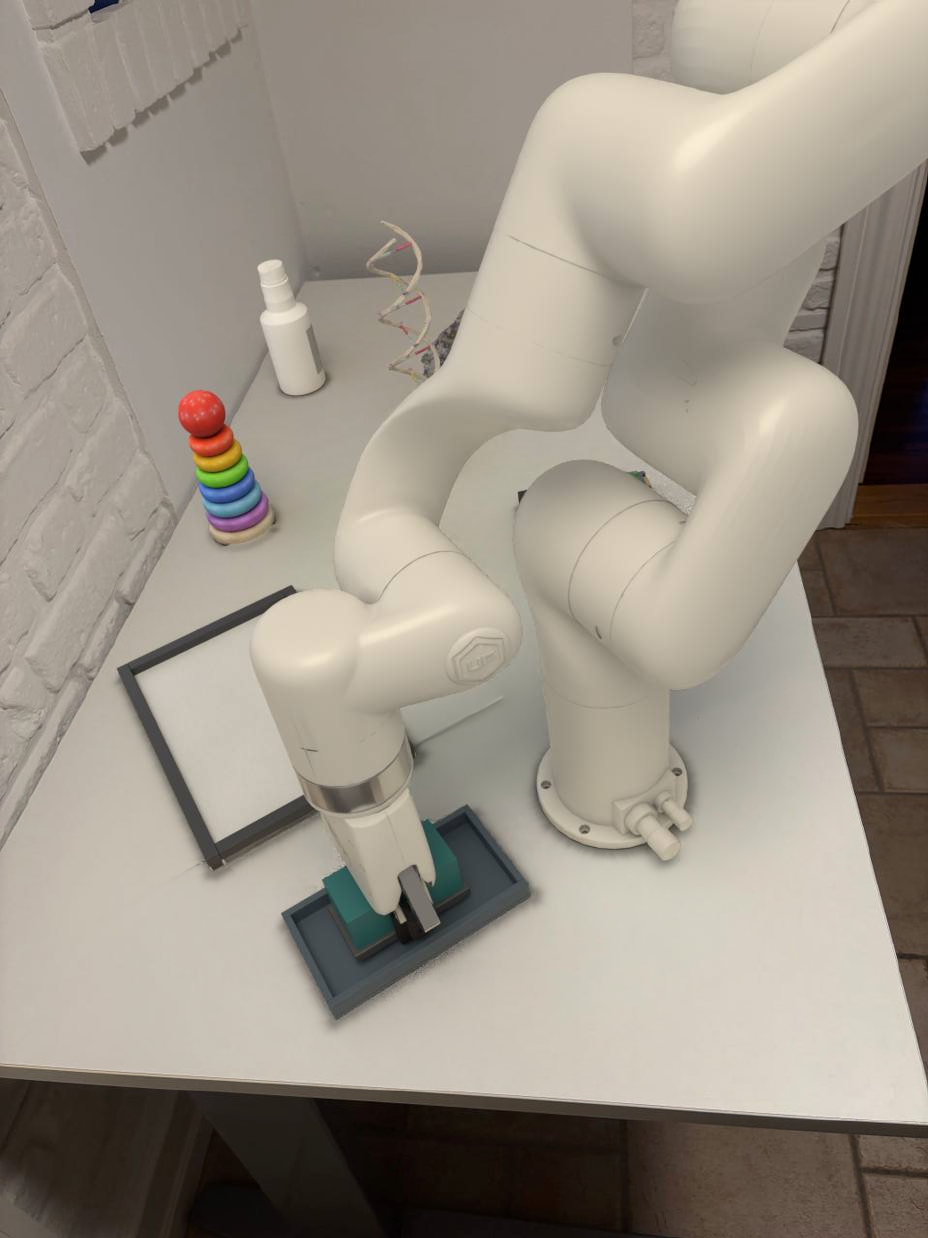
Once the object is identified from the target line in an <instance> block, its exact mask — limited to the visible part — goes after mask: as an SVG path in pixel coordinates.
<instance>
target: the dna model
mask: <svg viewBox="0 0 928 1238" xmlns="http://www.w3.org/2000/svg"><path fill="white" fill-rule="evenodd" d="M380 225H382V226H384V227H387V228H388V229H391V230H393V231H394V232H395V233H397V234H399V235H400V236H401V237H403V238H404V239H405V240H406V241H407V243H405V244H403V245H399V247H397V248H395V249H394V250H391V251H389V249H391V248H392V246H394V245H395V244H396V243H397V242H398V240H397V238H396V237H393V238H391V239H390V240H389V241H388V242H387V243H386V244H385V245H384V246H383V247H381V249H379V250H378V251H377V252H376V253H375V254H374V255H373V256H372V257H371V256H370V257H369V259H368V260H367V262H366V264H365V267H366V269H367V271H369V272H371V273H373V274H376V275H380V276H383V277H386V278H390V279H391V280H392V281H393V282H394V284H395V285H396V286H397V287H398V288H399V290H400V291H401V295H400V296H399V297H398V298H397V299H396V300H395V301H394V303H392V304H391V305H390V306H388V307H387V308H385V309H384V310H383V311H382V312H378V313H376V315H378V316H377V321H378V323H380V324H383V325H387V326H390V327H391V326H392V327H395V328H398V329H399V330H400V329H401V330H402V331H403V332H404V334H405V335H407V337H408V339H409V341H410V342H411V343H412V345H411V346H410V347H409V348H408V349H407V350H406V351H405V352H404V353H403V354H401V355H400V356H399V357H397V358H396V359H394V360H393V361H391V362H390V363H388V365H387V367H388V370H389V371H393V372H398V373H402V374H405V375H406V374H407V375H409V376H410V377H412V379H413V380H414V382H416V383H417V387H418V386H419V385H421V384H422V383H420V381H419V380H421V381H423V382H424V381H426V380H427V379H428V378H427V377H425V376H424V375H423V374H421V373H419V372H416V371H414V370H413V369H412V367H409V368H402V367H398V365H400V364H402V363H403V362H405V361H407V360H409V359H410V358H412V357H414V356H417V355H419V354H421V353H423V352H426V351H427V350H428V349H431V351H432V352H433V354H434V360H435V369H434V373H435V372H437V371H438V370H439V369H440V359H439V357H438V354H437V351H436V348H435V344H436V342H434V341H431V340H430V338H428V337H427V334H428V333H429V330H430V327H431V326H430V325H431V321H432V315H433V313H432V309H431V305H430V301H429V299H428V298H427V296H426V294H425V293H424V292H423V291H422V290H421V289H420V288H418V287H417V284H418V282H419V280H420V277H421V274H422V270H423V257H422V251H421V249H420V247H419V245H418V244H417V243H418V242H417V238H416V236H415V237H413V238H412V236H410V234H409V233H408V232H407V231H405V230H403V229H402V228H401V227H399V226H398V225H396V224H393V223H390V222H388V221H385V220H380ZM408 247H412V250H413V252H414V254H415V255H414V256H415V257H416V259H417V268H416V271H415V273H414V274H413V277H412V279H411V281H408V280H406V279H405V278H402V277H400V276H399V275H396V274H395V273H393V272H389V271H386V270H382V269H378V268H376V267H375V265H374V264H375V263H376V262H377V261H379V260H382V259H383V258H386V257H388V256H390V255H392V254H394V253H395V252H399V251H401V250H403V249H405V248H408ZM399 283H400V284H399ZM401 285H404V286H406V289H404V287H402V286H401ZM412 292H414V293H415V294H416V295H417V296H416V297H414V298H412V299H410V300H407V301H406V302H405V303H402V302H404V301H405V299H406V298H407V297H408V296H409V295H410V294H411V293H412ZM418 300H421V301H422V305H423V309H424V312H425V316H426V317H425V320H424V326H423V329H422V330H421V331H419V330H418V329H415V328H414V327H411V326H410V325H407V324H404V322H403V321H402V320H401V321H400V322H397V321H394V320H391V319H388V318H385V317H386V316H387V315H389V314H391V313H392V312H395V311H397V310H399V309H401V308H403V307H404V306H405V305H406V306H408V305H410V304H412V303H414V302H416V301H418ZM401 303H402V304H401ZM409 334H413V335H414V336H416V337H417V339H416V341H415V340H414V339H413V338H412V337H411V336H410V335H409ZM422 342H423V343H424V344H426V345H427V346H426V347H424V348H422V349H421V348H420V349H419V350H416V349H417V348H418V347H419V346H420V345H421V343H422ZM415 350H416V351H415ZM414 351H415V352H414ZM413 352H414V353H413ZM418 379H419V380H418Z"/></svg>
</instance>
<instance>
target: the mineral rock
mask: <svg viewBox="0 0 928 1238" xmlns="http://www.w3.org/2000/svg"><path fill="white" fill-rule="evenodd" d="M464 310H465V307H464V308H463V309H462V310H461V311H459V313H458V315H457V317H456V318H455V319H454V321H453V322H452V323H451V324H450V325H449V326H448V327H446V328H445V329H443V331H442V332H440V333H439V335H437V338H436V339H435V340H434V341H433V342H436V344H435V348H436V351H437V354H438V357H439V359H440V367H441V366H442V365H443V363H444V362H445V360H446V358H447V356H448V354H449V353H450V350H451V347H452V345H453V342H454V340H455V337H456V334H457V331H458V328H459V325H460V322H461V319H462V316H463V313H464ZM420 362H421V364H422V365H423V374H422V375H424V376H425V377H427V378H430V377H431V376H432V375H433V374H434V369H435V360H434V354H433V352H432V351H431V349H430V348H429V349H427V350H426V351H425V352H424V353H423V355H422V356H421V357H420Z"/></svg>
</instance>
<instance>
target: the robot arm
mask: <svg viewBox="0 0 928 1238" xmlns="http://www.w3.org/2000/svg"><path fill="white" fill-rule="evenodd" d="M669 63H670V71H671V76H672V81H673V82H670V81H666V80H661V79H656V78H652V77H647V76H643V75H636V74H630V73H625V72H592V73H587V74H584V75H583V74H582V75H580V76H577V77H574V78H571V79H569V80H567V81H565V82H564V83H562V84H561V85H560V86H558V87H557V88H555V89H554V90H553V91H552V92H551V93H550V94H549V95H548V96H547V98H546V99H545V100H544V102H543V103H542V104H541V105H540V107H539V109H538V111H537V112H536V114H535V116H534V118H533V120H532V122H531V124H530V126H529V129H528V130H527V133H526V136H525V139H524V141H523V144H522V147H521V150H520V152H519V155H518V156H517V160H516V162H515V165H514V169H513V171H512V174H511V177H510V180H509V183H508V186H507V188H506V191H505V195H504V197H503V199H502V202H501V206H500V207H499V208H500V209H499V211H498V214H497V217H496V220H495V223H494V225H493V229H492V232H491V234H490V237H489V241H488V242H487V246H486V249H485V252H484V254H483V257H482V259H481V262H480V265H479V269H478V271H477V274H476V277H475V279H474V283H473V285H472V288H471V290H470V291H471V292H470V294H469V297H468V299H467V302H466V305H465V307H464V308H465V310H464V313H463V316H462V319H461V322H460V325H459V328H458V331H457V334H456V337H455V340H454V342H453V345H452V347H451V350H450V353H449V354H448V356H447V358H446V360H445V362H444V363H443V365H442V366H441V367H440V369H439V370H438V371H437V372H435V373H434V374H433V375H432V376H431V377H430V378H428V379H427V380H426V381H423V382H422V383H420V384H421V385H419V386H418V385H417V387H416V388H415V389H414V390H413V391H411V393H409V394H408V395H407V396H406V397H405V398H404V399H403V400H402V401H401V402H400V403H399V404H398V405H397V407H396V408H395V409H394V410H393V411H392V412H391V413H390V414H389V415H388V417H387V418H386V419H385V420H384V421H383V422H382V423H381V424H380V426H379V427H378V428H377V429H376V430H375V431H374V433H373V435H372V436H371V438H370V439H369V441H368V443H367V444H366V446H365V448H364V450H363V451H362V453H361V455H360V457H359V459H358V462H357V464H356V468H355V469H354V473H353V476H352V479H351V482H350V485H349V488H348V490H347V494H346V496H345V497H346V498H345V500H344V504H343V506H342V510H341V513H340V515H339V520H338V523H337V527H336V531H335V537H334V542H333V554H332V563H333V573H334V577H335V579H336V582H337V584H338V587H339V589H337V588H327V587H326V588H325V587H324V588H312V589H311V588H310V589H307V590H302V591H298V592H297V593H295V594H293V595H290V596H288V597H286V598H284V599H282V600H280V601H279V602H277V603H276V604H274V605H273V606H271V607H270V608H269V609H268V610H267V611H266V612H265V613H264V614H263V615H262V616H261V618H260V619H259V620H258V622H257V624H256V626H255V628H254V630H253V632H252V635H251V640H250V658H251V662H252V665H253V668H254V671H255V674H256V677H257V679H258V682H259V684H260V687H261V689H262V692H263V694H264V697H265V699H266V702H267V704H268V707H269V709H270V712H271V714H272V717H273V719H274V722H275V724H276V727H277V729H278V732H279V734H280V737H281V739H282V741H283V744H284V746H285V749H286V751H287V754H288V756H289V759H290V761H291V764H292V766H293V769H294V771H295V774H296V776H297V779H298V781H299V784H300V786H301V789H302V791H303V794H304V796H305V798H306V800H307V801H308V802H309V804H310V805H311V806H312V807H313V808H315V809H316V810H318V811H319V815H320V818H321V821H322V824H323V827H324V829H325V831H326V833H327V835H328V837H329V839H330V841H331V842H332V844H333V846H334V848H335V849H336V851H337V853H338V855H339V856H340V858H341V860H342V861H343V863H344V864H345V865H344V866H347V868H348V870H349V871H350V873H351V875H352V876H353V878H354V880H355V881H356V883H357V884H358V886H359V888H360V889H361V891H362V893H363V894H364V896H365V897H366V899H367V901H368V902H369V904H370V905H371V907H372V908H373V909H374V911H375V912H377V913H379V914H381V915H386V914H388V913H390V912H391V913H390V917H391V920H392V923H393V926H394V928H395V931H396V934H397V937H398V939H399V941H400V943H401V944H402V945H404V944H406V943H408V942H410V941H411V940H413V939H414V940H418V939H420V938H422V937H423V936H425V935H427V934H428V933H429V932H430V930H431V929H432V928H434V927H435V926H437V925H439V924H440V920H439V918H438V916H437V914H436V912H435V909H434V906H433V902H432V899H431V896H430V894H429V892H428V889H427V887H426V885H427V886H429V885H430V886H432V887H433V885H434V883H435V879H436V873H435V867H434V862H433V859H432V855H431V852H430V848H429V845H428V842H427V839H426V836H425V833H424V830H423V827H422V824H421V822H422V821H421V818H420V814H419V813H418V807H417V805H416V804H415V802H414V799H413V796H412V794H411V791H410V788H409V783H410V782H411V779H412V776H413V773H414V760H413V757H412V754H411V749H410V745H409V742H408V739H409V738H408V735H407V730H406V727H405V723H404V720H403V716H402V713H401V709H402V708H404V707H405V708H406V707H408V706H413V705H417V704H421V703H424V702H428V701H433V700H436V699H440V698H445V697H449V696H452V695H455V694H458V693H462V692H465V691H469V690H471V689H474V688H476V687H478V686H481V685H483V684H485V683H486V682H488V681H491V680H492V679H494V678H495V677H497V676H498V675H499V674H501V673H502V672H503V671H504V670H505V669H506V668H508V667H509V666H510V664H511V663H512V662H513V660H515V658H516V656H517V654H518V652H519V651H520V647H521V645H522V643H523V637H524V636H523V635H524V627H523V621H522V616H521V615H520V612H519V610H518V607H517V606H516V605H515V603H514V602H513V600H512V599H511V598H510V597H509V595H508V594H507V593H506V592H505V591H504V590H503V589H502V588H501V587H500V586H499V585H498V584H497V583H496V582H495V581H494V580H493V579H492V578H491V577H489V575H488V574H487V573H486V572H484V571H483V570H482V569H481V567H480V566H478V564H476V563H475V562H474V561H473V559H472V558H471V557H470V556H469V555H467V553H465V552H464V551H463V550H462V548H460V547H459V546H458V545H457V544H456V543H455V542H454V541H453V540H452V539H451V538H450V537H448V535H447V534H446V533H445V532H443V531H442V529H441V528H440V523H441V520H442V517H443V514H444V512H445V509H446V505H447V503H448V500H449V498H450V495H451V493H452V490H453V488H454V485H455V483H456V481H457V479H458V477H459V475H460V473H461V472H462V470H463V468H464V466H465V465H466V463H467V462H468V461H469V459H470V458H471V457H472V456H473V455H474V453H475V452H477V450H479V449H480V448H481V447H482V446H483V445H484V444H485V443H487V442H489V441H490V440H492V439H493V438H495V437H497V436H500V435H502V434H505V433H507V432H512V431H516V430H526V431H527V430H528V431H534V432H535V431H537V432H544V433H545V432H546V433H554V432H555V433H560V432H561V433H562V432H567V431H572V430H574V429H577V428H578V427H580V426H582V425H584V424H585V423H586V422H587V421H588V420H589V419H591V416H592V414H593V413H594V411H595V409H596V407H597V404H598V401H599V399H600V397H601V399H600V409H601V417H602V420H603V422H604V424H605V427H606V428H607V430H608V431H609V432H610V434H611V435H612V436H613V438H614V439H615V440H616V441H617V442H619V444H621V445H622V446H623V447H624V448H625V449H626V450H628V451H629V452H630V453H632V454H633V455H634V456H635V457H637V458H639V459H640V461H643V462H644V463H646V464H647V465H649V466H650V467H651V468H653V469H655V470H656V471H657V472H659V473H660V474H661V475H663V476H665V477H666V478H668V479H669V480H671V481H672V482H673V483H675V484H676V485H678V486H679V487H681V488H683V489H684V490H685V491H687V492H689V493H690V494H691V495H693V496H695V498H694V502H693V503H692V506H691V509H690V511H689V513H688V514H687V513H686V512H684V511H683V510H682V509H681V508H680V507H679V506H678V505H676V504H675V503H673V502H672V501H670V500H669V499H667V497H665V496H663V494H660V493H659V492H658V491H656V490H654V489H653V487H652V488H650V487H649V486H647V485H646V484H644V483H643V482H641V481H640V480H638V479H637V478H635V477H633V476H632V475H630V474H628V473H627V472H628V471H626V470H623V469H621V468H618V467H617V466H615V465H612V464H610V463H606V462H603V461H598V460H593V459H572V460H568V461H565V462H561V463H559V464H556V465H554V466H552V467H551V468H549V469H547V470H545V471H544V472H543V473H542V474H540V475H539V476H538V477H537V478H536V479H535V480H533V482H532V483H531V484H530V485H529V487H528V488H527V489H526V490H527V491H526V492H525V494H524V496H523V498H522V499H521V502H520V504H519V503H518V507H517V509H516V513H515V516H514V519H513V527H512V551H513V557H514V564H515V566H516V567H515V568H516V570H517V574H518V577H519V580H520V585H521V586H522V589H523V593H524V595H525V596H524V597H525V598H526V601H527V605H528V607H529V611H530V614H531V618H532V621H533V625H534V630H535V635H536V640H537V647H538V648H537V649H538V654H539V663H540V675H541V682H542V690H543V698H544V707H545V717H546V724H547V730H548V739H549V746H550V747H549V748H548V749H547V751H546V752H545V754H544V755H543V757H542V759H541V761H540V763H539V766H538V769H537V775H536V791H537V797H538V801H539V804H540V807H541V809H542V811H543V813H544V815H545V816H546V818H547V819H548V821H549V822H550V823H551V825H553V826H554V827H555V828H556V829H557V830H558V831H559V832H560V833H562V834H563V835H565V836H566V837H568V838H569V839H570V840H572V841H573V840H574V841H576V842H578V843H580V844H583V845H585V846H590V847H593V848H598V849H609V850H617V849H629V848H633V847H636V846H640V845H644V844H647V845H648V846H649V848H651V849H652V851H654V852H655V854H656V855H657V856H658V857H659V858H660V859H661V860H662V861H664V862H665V861H666V862H667V861H669V860H671V859H673V858H674V857H675V856H676V855H677V854H678V853H679V852H680V851H681V848H682V843H681V841H680V840H679V839H678V838H677V837H676V836H675V835H674V834H673V833H672V832H671V831H670V830H669V829H670V828H671V827H672V826H673V825H675V827H677V829H678V830H679V831H680V832H684V831H687V830H688V829H689V828H690V827H691V826H692V825H693V824H694V818H693V817H692V815H690V814H689V812H687V810H686V809H685V805H686V802H687V798H688V789H689V786H688V785H689V784H688V783H689V782H688V773H687V768H686V766H685V762H684V761H683V759H682V757H681V755H680V753H679V751H677V749H676V748H675V747H674V746H673V745H672V744H671V742H670V719H671V717H670V716H671V715H670V713H671V712H670V711H671V710H670V709H671V708H670V707H671V706H670V705H671V690H676V691H677V690H678V691H679V690H686V689H687V690H688V689H690V688H695V687H697V686H700V685H702V684H703V683H705V682H707V681H709V680H710V679H712V678H713V677H714V676H716V675H717V674H718V673H719V672H721V671H722V670H723V669H725V667H726V666H727V665H728V664H729V663H730V662H731V661H732V660H733V659H734V657H735V656H736V655H737V654H738V653H739V652H740V650H741V649H742V648H743V646H744V645H745V644H746V642H747V641H748V640H749V638H750V636H751V635H752V634H753V632H754V631H755V629H756V627H757V626H758V624H759V623H760V621H761V620H762V618H763V617H764V615H765V614H766V612H767V610H768V609H769V607H770V605H771V604H772V602H773V601H774V598H775V597H776V596H777V594H778V592H779V590H780V589H781V587H782V586H783V584H784V582H785V581H786V579H787V577H788V576H789V575H790V573H791V571H792V569H793V568H794V566H795V564H796V563H797V561H798V559H800V557H801V555H802V554H803V551H804V550H805V548H806V546H807V545H808V544H809V542H810V540H811V539H812V537H813V535H814V534H815V531H817V529H818V527H819V526H820V523H821V522H822V520H823V518H824V517H825V515H826V514H827V512H828V511H829V509H830V507H831V506H832V503H833V502H834V500H835V499H836V496H837V494H838V493H839V491H840V489H841V487H842V486H843V484H844V482H845V479H846V477H847V475H848V472H849V471H850V468H851V465H852V462H853V459H854V457H855V452H856V447H857V442H858V437H859V414H858V408H857V405H856V401H855V399H854V397H853V395H852V393H851V391H850V390H849V388H848V386H847V385H846V384H845V382H843V380H841V379H840V378H839V376H837V375H836V374H834V373H833V372H832V371H830V370H829V369H828V368H826V367H824V366H823V365H821V364H819V363H817V362H816V361H814V360H812V359H809V358H808V357H805V356H803V355H801V354H799V353H797V352H795V351H792V350H790V349H789V348H787V347H784V346H785V341H786V339H787V336H788V334H789V332H790V329H791V328H792V325H793V324H794V322H795V320H796V317H797V316H798V314H799V311H800V309H801V307H802V305H803V303H804V301H805V299H806V297H807V295H808V293H809V291H810V289H811V287H812V286H813V283H814V282H815V279H816V277H817V275H818V273H819V271H820V268H821V266H822V263H823V260H824V257H825V255H826V254H825V253H826V249H827V245H828V239H829V235H831V234H832V233H833V232H834V231H836V230H837V229H838V228H840V227H841V226H842V225H843V224H845V223H846V222H848V221H849V220H850V219H851V218H853V217H854V216H855V215H857V214H858V213H859V212H861V211H862V210H864V209H865V208H866V207H867V206H869V205H870V204H871V203H873V202H874V201H875V200H878V198H879V197H881V196H883V194H885V193H886V192H887V191H889V190H890V189H892V188H893V187H894V186H895V185H897V184H898V183H899V182H901V181H902V180H904V179H905V178H906V177H907V176H908V175H910V174H911V173H912V172H914V170H916V169H917V168H918V167H919V166H920V165H922V164H923V163H924V162H925V161H926V160H927V159H928V0H677V3H676V6H675V10H674V14H673V17H672V21H671V27H670V34H669ZM646 289H648V290H647V293H646V295H645V297H644V299H643V301H642V298H643V295H644V293H645V291H646ZM641 301H642V303H641ZM640 303H641V305H640ZM639 305H640V307H639ZM638 307H639V309H638ZM637 309H638V311H637ZM636 312H637V313H636ZM635 314H636V315H635ZM634 316H635V317H634ZM632 320H633V321H632ZM601 394H602V395H601ZM625 471H626V472H625ZM425 883H426V884H425ZM403 894H405V896H406V898H407V899H405V900H404V901H402V902H399V899H400V896H401V895H403Z"/></svg>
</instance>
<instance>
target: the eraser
mask: <svg viewBox="0 0 928 1238" xmlns="http://www.w3.org/2000/svg"><path fill="white" fill-rule="evenodd" d="M421 824H422V827H423V830H424V833H425V836H426V839H427V842H428V845H429V848H430V852H431V855H432V859H433V862H434V867H435V873H436V879H435V883H434V885H433V887H432V886H430V885H429V886H427V885H426V887H427V889H428V892H429V894H430V896H431V899H432V902H433V906H434V909H435V912H436V914H437V915H438V914H439V913H441V912H443V911H444V910H446V909H448V908H449V907H451V906H452V905H454V904H456V903H457V902H459V901H461V900H462V899H464V898H466V897H467V896H469V895H470V894H471V891H470V887H469V885H468V884H467V883H466V881H465V880H464V878H463V877H462V876H461V874H460V870H459V866H458V862H457V858H456V857H455V855H454V854H453V853H452V851H451V850H450V848H449V847H448V846H447V844H446V843H445V841H444V840H443V839H442V837H441V836H440V834H439V833H438V832H437V830H436V829H435V827H434V826H433V825H432V824H433V823H432V822H431V820H430V819H429V818H426V819H425V820H422V821H421ZM321 881H322V884H323V886H324V888H325V889H326V891H327V893H328V896H329V898H330V900H331V903H332V905H331V906H329V907H328V910H329V912H330V915H331V916H332V918H333V920H334V922H335V924H336V925H337V927H338V929H339V931H340V933H341V934H342V936H343V938H344V940H345V941H346V943H347V945H348V947H349V949H350V950H351V952H352V954H353V956H354V958H355V959H356V961H357V963H359V962H361V961H362V960H364V959H366V958H367V957H369V956H371V955H372V954H374V953H375V952H377V951H379V950H380V949H382V948H384V947H385V946H387V945H389V944H390V943H392V942H393V941H395V940H397V939H398V937H397V934H396V931H395V928H394V926H393V923H392V920H391V917H390V913H391V912H390V913H388V914H386V915H381V914H379V913H377V912H375V911H374V909H373V908H372V907H371V905H370V904H369V902H368V901H367V899H366V897H365V896H364V894H363V893H362V891H361V889H360V888H359V886H358V884H357V883H356V881H355V880H354V878H353V876H352V875H351V873H350V871H349V870H348V868H347V866H346V865H344V866H343V867H341V868H339V869H337V870H336V871H334V872H332V873H330V874H329V875H327V876H325V877H323V878H321ZM425 884H426V883H425ZM405 899H407V898H406V896H405V894H403V895H401V896H400V899H399V902H402V901H404V900H405Z"/></svg>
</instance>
